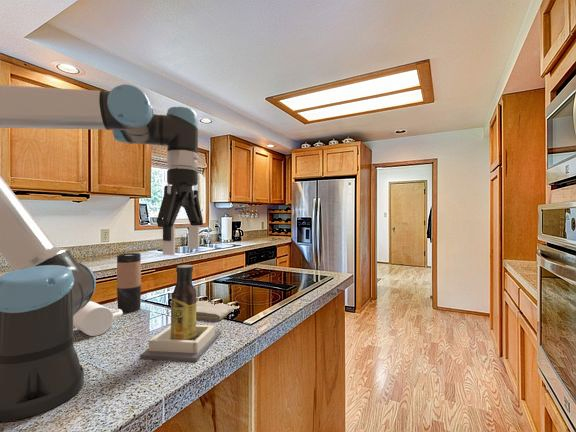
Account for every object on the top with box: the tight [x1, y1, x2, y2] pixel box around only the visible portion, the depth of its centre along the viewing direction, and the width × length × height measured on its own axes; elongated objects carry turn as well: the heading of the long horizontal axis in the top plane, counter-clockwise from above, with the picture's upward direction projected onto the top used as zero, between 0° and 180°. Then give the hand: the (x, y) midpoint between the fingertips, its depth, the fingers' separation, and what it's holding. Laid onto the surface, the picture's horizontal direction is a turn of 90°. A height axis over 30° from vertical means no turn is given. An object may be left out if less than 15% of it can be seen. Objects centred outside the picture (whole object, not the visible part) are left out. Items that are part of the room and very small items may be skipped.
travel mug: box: [116, 252, 142, 314], centre depth 108 cm, size 8×8×20 cm
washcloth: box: [196, 300, 237, 322], centre depth 104 cm, size 12×18×3 cm, turn 71°
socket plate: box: [139, 324, 222, 362], centre depth 78 cm, size 16×14×3 cm
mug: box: [73, 300, 124, 337], centre depth 90 cm, size 12×10×8 cm
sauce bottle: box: [170, 264, 197, 340], centre depth 78 cm, size 6×6×20 cm
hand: (182, 251), depth 78 cm, fingers open, 13 cm apart
